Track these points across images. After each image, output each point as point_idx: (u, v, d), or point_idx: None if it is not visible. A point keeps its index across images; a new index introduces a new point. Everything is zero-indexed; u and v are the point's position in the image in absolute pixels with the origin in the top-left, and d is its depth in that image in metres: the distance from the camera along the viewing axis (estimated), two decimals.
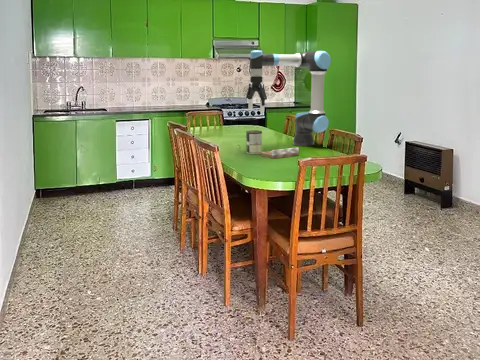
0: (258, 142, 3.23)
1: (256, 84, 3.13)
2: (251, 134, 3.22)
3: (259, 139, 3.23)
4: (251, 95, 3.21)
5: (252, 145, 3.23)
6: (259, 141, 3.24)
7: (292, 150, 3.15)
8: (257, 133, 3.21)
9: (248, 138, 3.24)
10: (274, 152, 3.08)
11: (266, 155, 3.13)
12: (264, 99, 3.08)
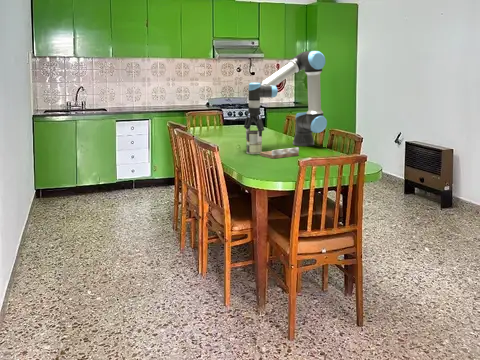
0: (258, 142, 3.23)
1: (254, 115, 3.21)
2: (251, 134, 3.22)
3: None
4: (249, 125, 3.29)
5: (252, 145, 3.23)
6: None
7: (292, 150, 3.15)
8: (257, 133, 3.21)
9: (248, 138, 3.24)
10: (274, 152, 3.08)
11: (266, 155, 3.13)
12: (261, 130, 3.17)
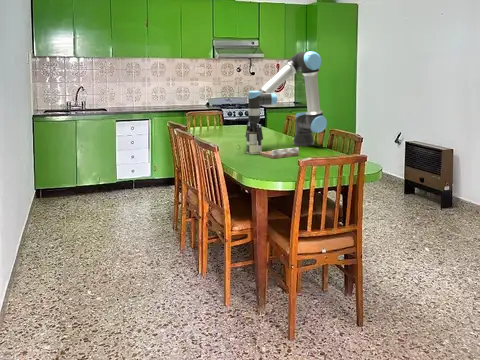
0: None
1: (254, 123, 3.22)
2: (251, 134, 3.22)
3: None
4: None
5: (252, 145, 3.23)
6: None
7: (292, 150, 3.15)
8: (257, 133, 3.21)
9: (248, 138, 3.24)
10: (274, 152, 3.08)
11: (266, 155, 3.13)
12: (260, 139, 3.20)
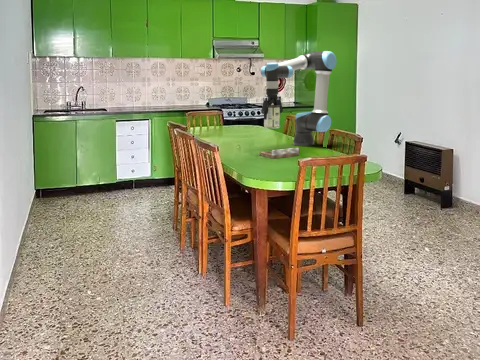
0: None
1: None
2: None
3: (267, 113, 3.12)
4: None
5: None
6: None
7: (292, 150, 3.15)
8: None
9: None
10: (274, 152, 3.08)
11: (266, 155, 3.13)
12: (262, 113, 3.11)
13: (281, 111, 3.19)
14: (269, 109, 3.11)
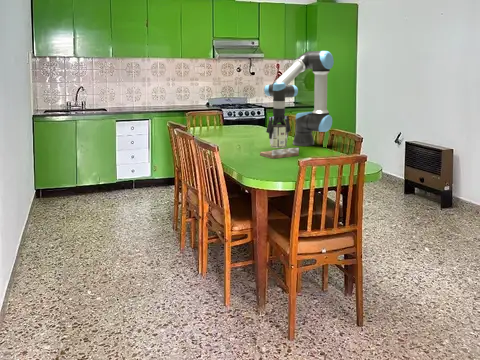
0: None
1: None
2: None
3: (273, 132, 3.13)
4: None
5: None
6: (273, 135, 3.13)
7: (292, 150, 3.15)
8: (271, 126, 3.14)
9: None
10: (274, 152, 3.08)
11: (266, 155, 3.13)
12: (267, 132, 3.12)
13: None
14: (274, 129, 3.12)
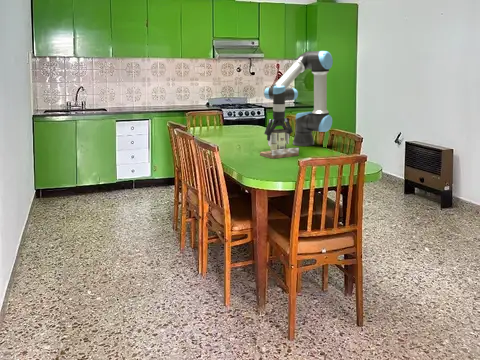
0: (272, 141, 3.15)
1: None
2: None
3: (272, 138, 3.14)
4: None
5: None
6: (272, 140, 3.14)
7: (292, 150, 3.15)
8: None
9: None
10: (274, 152, 3.08)
11: (266, 155, 3.13)
12: None
13: (290, 132, 3.19)
14: (274, 134, 3.12)
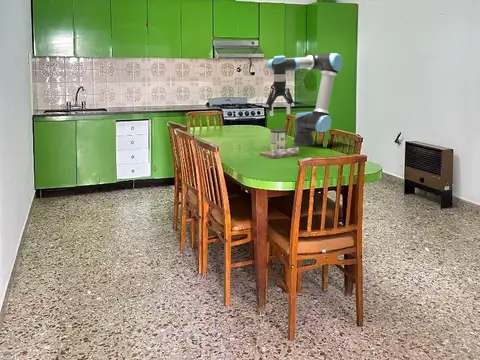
0: (272, 141, 3.15)
1: None
2: None
3: (273, 138, 3.14)
4: (286, 100, 3.22)
5: None
6: (273, 140, 3.14)
7: (292, 150, 3.15)
8: (271, 131, 3.14)
9: None
10: (274, 152, 3.08)
11: (266, 155, 3.13)
12: (267, 104, 3.15)
13: (291, 102, 3.23)
14: (274, 134, 3.12)
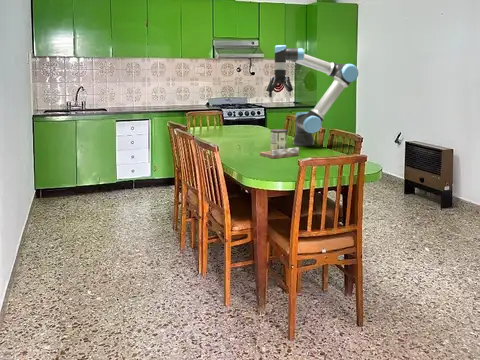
0: (272, 141, 3.15)
1: None
2: None
3: (273, 138, 3.14)
4: (286, 87, 3.38)
5: None
6: (273, 140, 3.14)
7: (292, 150, 3.15)
8: (271, 131, 3.14)
9: None
10: (274, 152, 3.08)
11: (266, 155, 3.13)
12: None
13: (291, 90, 3.38)
14: (274, 134, 3.13)
